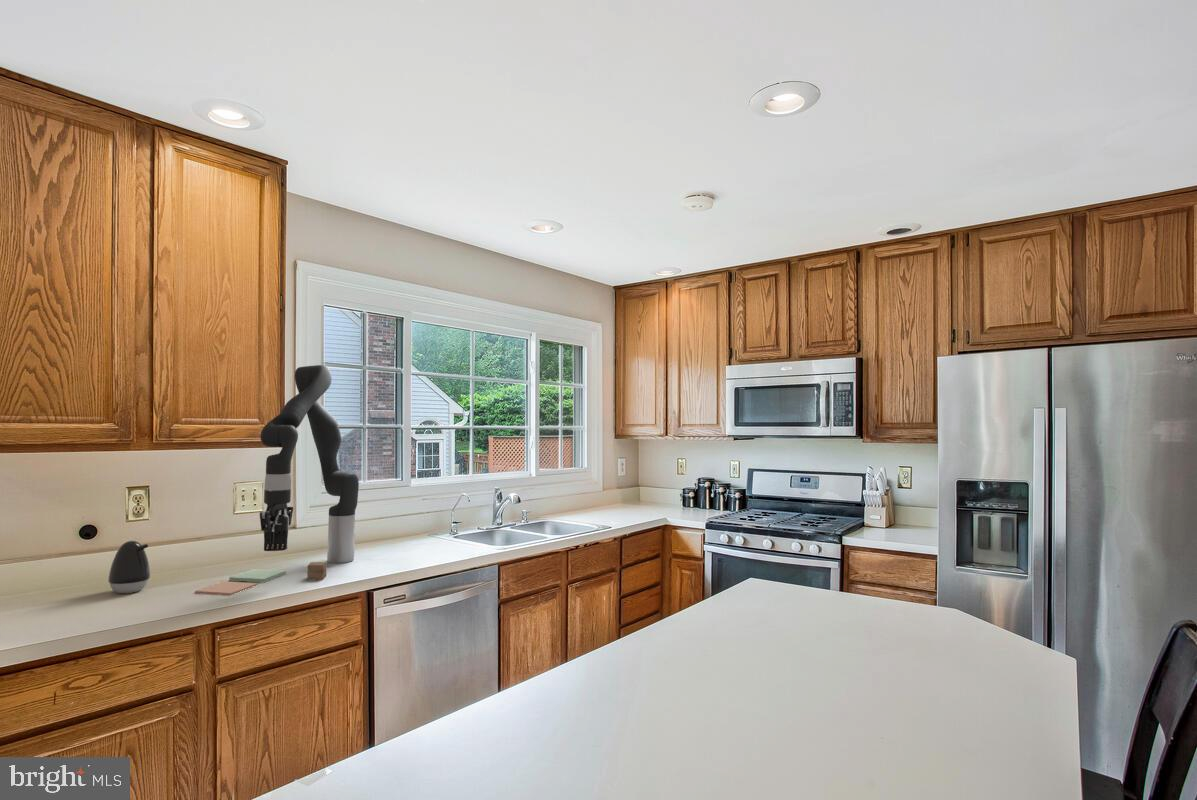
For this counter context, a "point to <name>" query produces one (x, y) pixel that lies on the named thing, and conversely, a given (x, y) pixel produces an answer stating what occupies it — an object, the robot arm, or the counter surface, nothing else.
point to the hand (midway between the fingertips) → (275, 541)
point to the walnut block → (316, 570)
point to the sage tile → (257, 575)
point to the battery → (279, 535)
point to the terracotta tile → (226, 588)
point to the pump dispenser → (129, 568)
